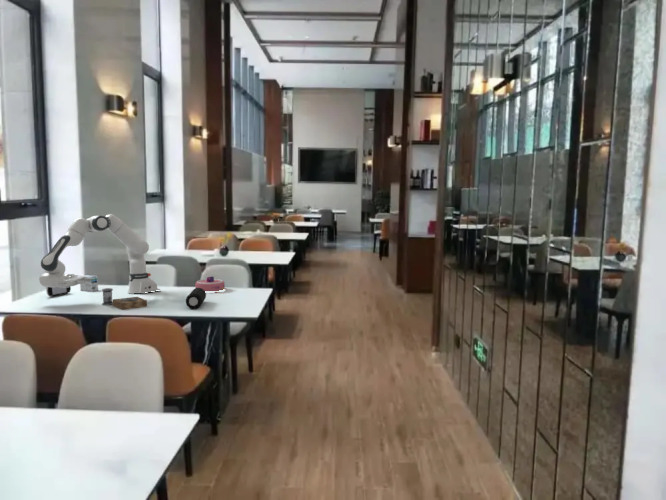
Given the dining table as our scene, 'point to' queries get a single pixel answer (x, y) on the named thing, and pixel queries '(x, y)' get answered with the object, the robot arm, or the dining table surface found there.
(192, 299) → the portable speaker
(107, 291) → the cylinder
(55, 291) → the gaming console
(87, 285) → the light bulb box
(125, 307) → the stand
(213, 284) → the cake
